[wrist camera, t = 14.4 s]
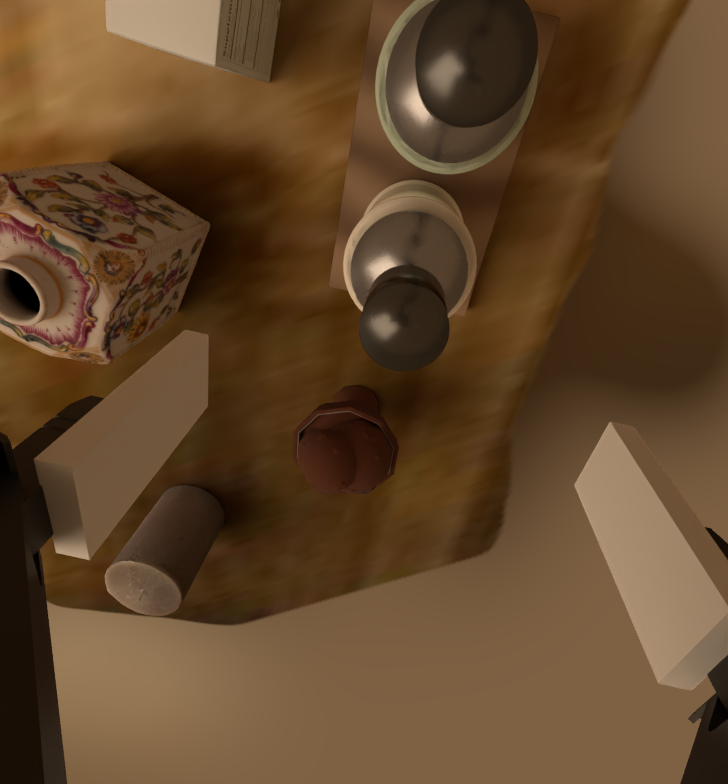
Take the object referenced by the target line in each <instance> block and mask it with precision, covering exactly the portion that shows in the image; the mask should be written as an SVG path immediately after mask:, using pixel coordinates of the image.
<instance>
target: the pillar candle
mask: <svg viewBox="0 0 728 784" xmlns="http://www.w3.org/2000/svg"><path fill="white" fill-rule="evenodd" d="M224 516H225V513H224V510H223V507H222V505H221V504H220V502H219V501H218V500H217V499H216V498H215V497H214V496H213V495H212V494H210V493H209V492H207V491H205V490H203V489H201V488H198V487H195V486H190V485H178V486H174V487H171V488H169V489H168V490H167V491H166V492H165V493H164V494H163V495H162V496H161V498H160V499H159V501H158V502H157V503H156V505H155V506H154V507H153V509H152V510H151V511H150V513H149V514H148V515H147V517H146V518H145V519H144V521H143V522H142V524H141V525H140V526H139V528H138V529H137V531H136V532H135V533H134V535H133V536H132V537H131V539H130V540H129V541H128V543H127V544H126V546H125V547H124V548H123V550H122V551H121V552H120V554H119V555H118V557H117V558H116V559H115V561H114V562H113V563H112V565H111V566H110V567H109V568H108V569H107V572H106V574H105V583H106V586H107V588H106V589H107V590H108V592H109V593H110V594H111V595H113V596H114V598H116V599H117V600H118V601H119V602H120V603H121V604H123V605H124V606H126V607H128V608H130V609H132V610H134V611H136V612H138V613H142V614H146V615H155V616H157V615H159V616H161V615H167V614H170V613H172V612H174V611H176V610H177V609H178V608H179V607H180V605H181V604H182V602H183V599H184V598H185V596H186V594H187V592H188V590H189V588H190V586H191V585H192V583H193V581H194V579H195V577H196V575H197V573H198V571H199V569H200V567H201V565H202V563H203V562H204V560H205V558H206V555H207V554H208V552H209V550H210V548H211V546H212V544H213V542H214V540H215V539H216V537H217V534H218V532H219V529H221V528H222V526H223V524H224V522H225V521H224V518H225V517H224Z"/></svg>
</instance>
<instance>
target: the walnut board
mask: <svg viewBox="0 0 728 784" xmlns="http://www.w3.org/2000/svg"><path fill="white" fill-rule="evenodd" d="M414 1H415V0H373V6H372V12H371V18H370V25H369V31H368V38H367V44H366V50H365V57H364V63H363V70H362V76H361V82H360V89H359V95H358V102H357V108H356V115H355V121H354V127H353V134H352V140H351V147H350V153H349V159H348V166H347V172H346V179H345V185H344V191H343V198H342V204H341V211H340V217H339V223H338V230H337V236H336V243H335V249H334V255H333V262H332V268H331V275H330V281H329V287H334V288H338V289H343V290H347V291H348V289H347V286H346V283H345V278H344V272H343V260H344V253H345V249H346V245H347V242H348V240H349V237H350V235H351V233H352V232H353V230H354V228H355V227H356V225H357V224H358V223H359V221H360V220H361V219H362V218H363V216H364V214H365V211H366V210H367V208H368V206H369V204H370V203H371V202H372V200H373V199H374V198H375V197H376V196H377V195H378V194H379V193H380V192H381V191H382V190H384V189H385V188H387V187H388V186H390V185H392V184H394V183H397V182H400V181H404V180H424V181H428V182H431V183H433V184H436V185H438V186H439V187H441V188H442V189H444V190H445V191H446V192H447V193H448V194H449V195H450V196H451V197H452V198H453V199H454V201H455V202H456V204H457V205H458V207H459V210H460V212H461V214H462V218H463V221H464V224H465V226H466V227H467V229H468V231H469V233H470V235H471V237H472V239H473V243H474V246H475V250H476V257H477V268H476V275H475V279H474V283H473V286H472V289H471V291H470V293H469V295H468V297H467V298H466V300H465V301H464V303H463V304H462V305H461V307H460V308H459V309H458V310H457V311H456V312H455V313H454V314H455V315H460V316H465V313H466V310H467V307H468V304H469V301H470V298H471V295H472V291H473V288H474V285H475V282H476V279H477V276H478V273H479V270H480V267H481V264H482V260H483V257H484V254H485V251H486V248H487V245H488V242H489V239H490V236H491V233H492V229H493V226H494V223H495V220H496V217H497V214H498V211H499V208H500V205H501V201H502V198H503V195H504V192H505V189H506V186H507V183H508V180H509V177H510V174H511V170H512V167H513V164H514V161H515V158H516V155H517V152H518V149H519V146H520V142H521V139H522V136H523V133H524V130H525V127H526V124H527V121H528V118H529V115H530V112H529V115H528V117H527V119H526V121H525V123H524V125H523V127H522V128H521V130H520V131H519V133H518V134H517V136H516V137H515V138H514V140H513V141H512V142H511V143H510V144H509V146H508V147H507V148H506V149H505V150H504V151H502V152H501V153H500V154H499V155H498V156H497V157H495V158H494V159H493V160H491V161H490V162H488V163H486V164H485V165H483V166H481V167H478V168H476V169H474V170H471V171H467V172H464V173H458V174H439V173H433V172H429V171H426V170H423V169H421V168H419V167H417V166H415V165H414V164H412V163H411V162H409V161H408V160H406V159H405V158H404V157H403V156H402V155H401V154H400V153H399V152H398V151H397V150H396V149H395V147H394V146H393V145H392V143H391V142H390V140H389V139H388V137H387V135H386V133H385V131H384V129H383V127H382V124H381V121H380V118H379V114H378V110H377V105H376V95H375V80H376V71H377V66H378V61H379V57H380V54H381V51H382V48H383V45H384V43H385V40H386V38H387V36H388V34H389V32H390V30H391V29H392V27H393V25H394V24H395V22H396V21H397V19H398V18H399V17H400V16H401V14H402V13H403V12H404V11H405V10H406V9H407V8H408V7H409V6H410V5H411V4H412V3H413V2H414ZM531 12H532V14H533V17H534V20H535V23H536V28H537V33H538V81H537V88H536V93H537V90H538V87H539V84H540V80H541V77H542V74H543V71H544V68H545V65H546V62H547V59H548V56H549V52H550V49H551V46H552V43H553V40H554V37H555V34H556V31H557V28H558V25H559V21H560V17H556V16H551V15H547V14H542V13H538V12H533V11H531ZM536 93H535V96H536ZM534 99H535V97H534ZM533 102H534V101H533ZM532 105H533V104H532ZM531 108H532V107H531ZM530 111H531V109H530Z"/></svg>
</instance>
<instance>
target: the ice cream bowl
mask: <svg viewBox="0 0 728 784" xmlns="http://www.w3.org/2000/svg"><path fill="white" fill-rule="evenodd" d="M378 404H379V402H378V401H377V399H376V397H375V396H374V394H373V392H372V391H370V390H368V389H366V388H364V387H361V386H359V385H355V386H347V387H343V388H342V389H341V390H340V391H339V392H338V393H337V394H336V395H335V396H334V402H333V403H325V404H322V405H320V406H319V407H318V408H317V409H316V410H314V411H313V412H312V413H311V414H310V415H309V416H308V417H307V418H306V419H305V420H304V421H303V422H302V423H301V424H300V425H299V426H298V427H297V428H296V429H295V431H294V441H293V459H294V460H295V462H296V463H297V464H298V466H299V468H300V469H301V470H302V472H303V473H304V476H305V478H306V479H307V481H308V483H309V484H310V485H312V486H313V488H314V489H315V490H317V491H319V492H321V493H325V494H326V493H339V494H345V493H350V494H353V493H355V494H367V493H369V492H370V491H372V490H373V489H375V488H376V487H377V486H379V485H380V484H381V483H383V482H384V481H385V480H387V479H388V478H389V477H391V476H392V475H393V474H394V470H395V464H396V459H397V454H398V448H399V447H398V443H397V439H396V438H395V436H394V435H393V433H392V431H391V430H390V428H389V426H388V425H387V423H386V422H385V420H384V418H383V417H382V415H381V414H380V413H379V412H378V411H377V410H378Z"/></svg>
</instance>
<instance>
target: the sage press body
mask: <svg viewBox="0 0 728 784" xmlns="http://www.w3.org/2000/svg"><path fill="white" fill-rule="evenodd" d="M432 1H433V0H415V1H414V2H413V3H412V4H411V5H410V6H409V7H408V8H407V9H406V10H405V11H404V12H403V13H402V14H401V16H400V17H399V18H398V19H397V21H396V22H395V24H394V25H393V27H392V29H391V30H390V32H389V34H388V36H387V38H386V40H385V43H384V45H383V48H382V51H381V54H380V57H379V61H378V66H377V71H376V80H375V95H376V105H377V110H378V114H379V118H380V121H381V124H382V127H383V129H384V131H385V133H386V135H387V137H388V139H389V140H390V142H391V143H392V145H393V146H394V147H395V149H396V150H397V151H398V152H399V153H400V154H401V155H402V156H403V157H404V158H405V159H406V160H408V161H409V162H411V163H412V164H414V165H415V166H417V167H419V168H421V169H423V170H426V171H429V172H433V173H439V174H458V173H464V172H467V171H471V170H474V169H476V168H478V167H481V166H483V165H485V164H486V163H488V162H490V161H491V160H493V159H494V158H495V157H497V156H498V155H499V154H500V153H501V152H502V151H504V150H505V149H506V148H507V147H508V146H509V144H510V143H511V142H512V141H513V140H514V138H515V137H516V136H517V134H518V133H519V131H520V130H521V128H522V127H523V125H524V123H525V121H526V119H527V117H528V115H529V112H530V109H531V107H532V104H533V101H534V97H535V93H536V88H537V81H538V54H537V61H536V65H535V69H534V72H533V75H532V78H531V81H530V83H529V88H528V92H527V96H526V100H525V102H524V105H523V108H522V110H521V112H520V114H519V116H518V118H517V120H516V122H515V123H514V125H513V127H512V128H511V130H510V131H509V132H508V133H507V134H506V136H505V137H504V138H503V139H502V140H501V141H500V142H499V143H498V144H497V145H496V146H494V147H493V148H492V149H490V150H489V151H488V152H486V153H484V154H483V155H481V156H479V157H476V158H474V159H472V160H468V161H465V162H459V163H441V162H436V161H433V160H429V159H427V158H425V157H423V156H421V155H419V154H418V153H416V152H415V151H413V150H412V149H411V148H410V147H409V146H408V145H407V144H406V143H405V142H404V141H403V139H402V138H401V137H400V135H399V134H398V132H397V131H396V129H395V127H394V125H393V122H392V120H391V117H390V114H389V111H388V106H387V101H386V91H385V89H386V73H387V67H388V62H389V58H390V55H391V52H392V49H393V47H394V44H395V42H396V40H397V38H398V36H399V35H400V33H401V31H402V30H403V28H404V27H405V25H406V24H407V23H408V22H409V20H410V19H411V18H412V17H413V16H414V15H415V14H416V13H417V12H418V11H419V10H420V9H421V8H423V7H424V6H426V5H427V4H428V3H430V2H432Z"/></svg>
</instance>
